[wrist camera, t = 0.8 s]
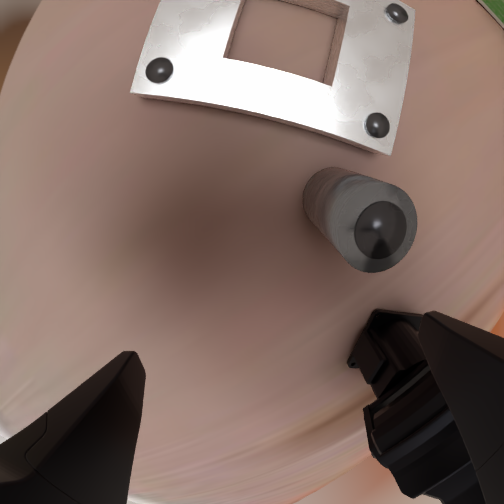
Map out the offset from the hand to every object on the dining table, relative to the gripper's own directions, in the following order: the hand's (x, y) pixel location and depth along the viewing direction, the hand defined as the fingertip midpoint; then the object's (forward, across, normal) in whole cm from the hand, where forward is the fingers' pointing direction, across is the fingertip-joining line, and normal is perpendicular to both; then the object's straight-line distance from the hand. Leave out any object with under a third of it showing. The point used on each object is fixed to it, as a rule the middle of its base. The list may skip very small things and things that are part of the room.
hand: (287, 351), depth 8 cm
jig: (+12, -3, -13) cm, 18 cm away
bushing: (+12, -5, -2) cm, 14 cm away
